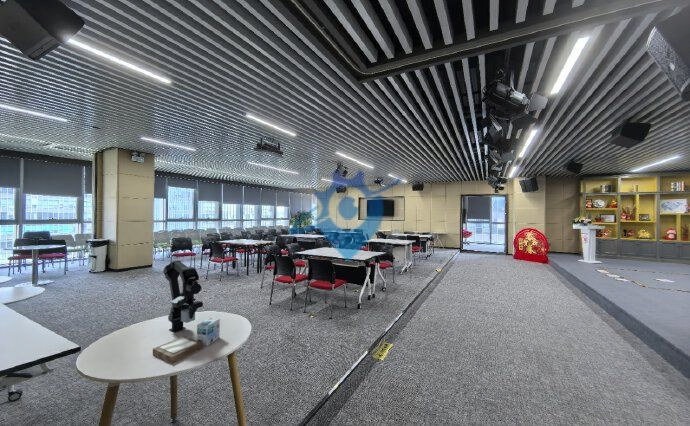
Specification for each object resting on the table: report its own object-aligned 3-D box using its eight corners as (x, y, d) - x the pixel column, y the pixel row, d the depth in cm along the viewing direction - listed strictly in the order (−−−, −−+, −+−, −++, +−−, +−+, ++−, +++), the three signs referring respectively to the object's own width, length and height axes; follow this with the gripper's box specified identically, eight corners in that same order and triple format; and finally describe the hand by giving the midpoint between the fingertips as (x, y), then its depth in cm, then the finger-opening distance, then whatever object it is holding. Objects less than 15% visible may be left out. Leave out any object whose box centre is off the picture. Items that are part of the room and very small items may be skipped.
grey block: (181, 321, 156) (181, 310, 156) (189, 318, 161) (189, 307, 161) (186, 323, 154) (186, 312, 154) (195, 319, 158) (195, 309, 158)
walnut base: (152, 354, 138) (152, 347, 138) (184, 341, 153) (184, 335, 153) (171, 363, 131) (171, 356, 131) (202, 348, 145) (202, 342, 145)
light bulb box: (207, 346, 148) (207, 326, 148) (196, 344, 149) (196, 324, 149) (220, 337, 158) (220, 318, 158) (209, 336, 160) (209, 317, 159)
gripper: (164, 291, 154) (163, 319, 155) (184, 296, 146) (184, 326, 146) (183, 286, 164) (183, 313, 164) (203, 291, 155) (203, 319, 156)
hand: (188, 317), depth 157 cm, fingers closed on grey block, 5 cm apart
